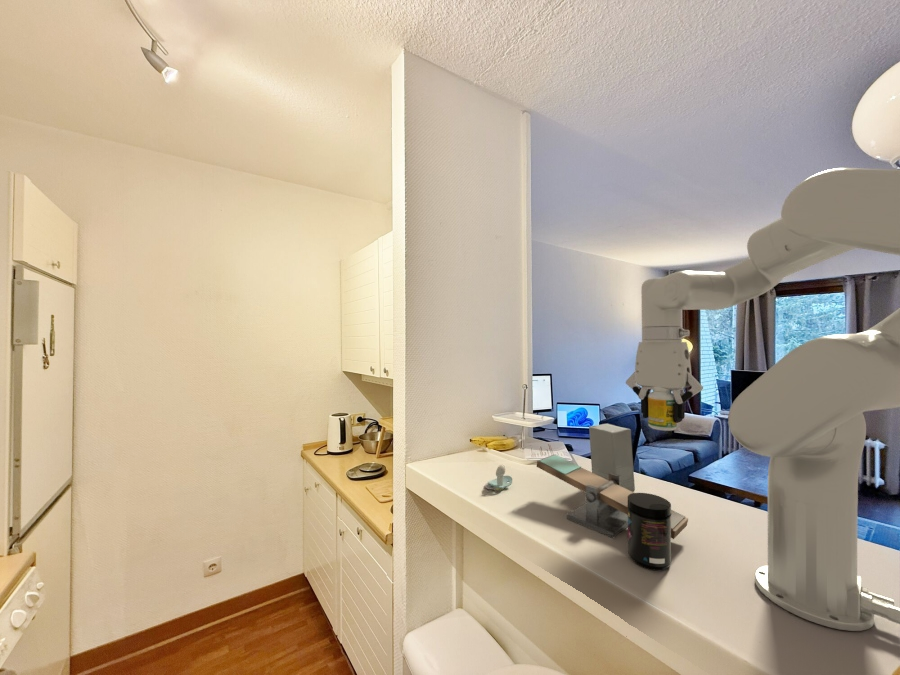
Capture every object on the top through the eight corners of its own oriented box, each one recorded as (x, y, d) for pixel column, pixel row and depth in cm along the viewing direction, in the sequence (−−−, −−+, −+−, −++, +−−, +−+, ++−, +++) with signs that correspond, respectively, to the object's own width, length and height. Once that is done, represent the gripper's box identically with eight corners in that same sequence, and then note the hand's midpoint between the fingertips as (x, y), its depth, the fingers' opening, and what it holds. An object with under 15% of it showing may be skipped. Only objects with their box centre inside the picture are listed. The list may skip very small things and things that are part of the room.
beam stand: (640, 516, 80) (640, 479, 80) (612, 538, 72) (612, 496, 72) (596, 500, 88) (596, 467, 88) (566, 518, 79) (566, 481, 79)
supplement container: (656, 548, 68) (656, 492, 68) (680, 572, 61) (680, 509, 61) (620, 549, 68) (620, 492, 68) (640, 573, 61) (640, 510, 61)
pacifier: (479, 488, 96) (497, 495, 91) (478, 464, 96) (496, 469, 92) (498, 481, 101) (515, 486, 96) (497, 458, 101) (514, 462, 96)
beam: (687, 525, 72) (689, 516, 71) (671, 542, 66) (673, 531, 66) (554, 460, 94) (556, 452, 94) (534, 468, 88) (535, 460, 88)
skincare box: (635, 492, 92) (635, 429, 92) (613, 497, 90) (613, 432, 89) (609, 480, 100) (609, 421, 100) (588, 484, 97) (588, 424, 97)
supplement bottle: (656, 423, 84) (656, 381, 84) (681, 428, 79) (681, 383, 79) (643, 427, 81) (643, 383, 81) (668, 432, 76) (668, 385, 76)
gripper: (713, 335, 76) (714, 423, 76) (628, 335, 89) (629, 411, 89) (702, 335, 71) (703, 429, 71) (614, 336, 84) (614, 415, 84)
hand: (662, 418), depth 80 cm, fingers closed on supplement bottle, 5 cm apart
